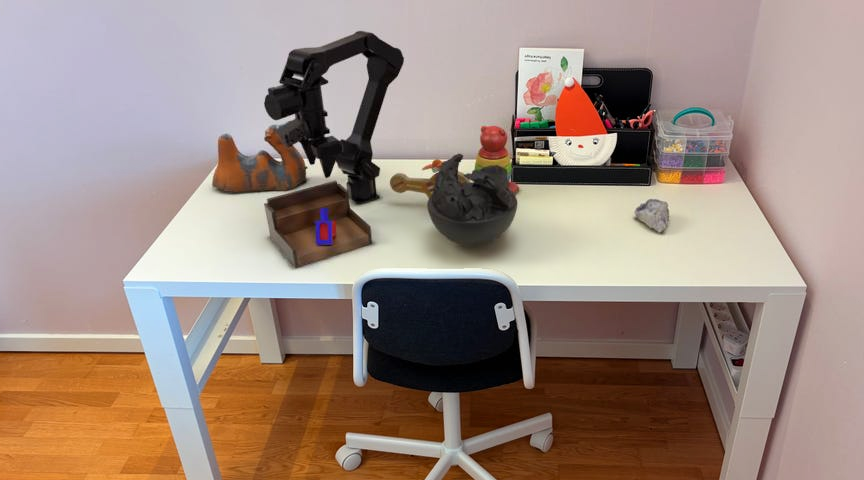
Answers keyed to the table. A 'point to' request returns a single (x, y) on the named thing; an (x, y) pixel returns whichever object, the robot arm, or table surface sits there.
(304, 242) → the shelf
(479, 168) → the stacking bear
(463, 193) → the coal bowl
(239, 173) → the camel toy
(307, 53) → the robot arm
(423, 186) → the toy helicopter
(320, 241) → the toy building block
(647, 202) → the mineral specimen
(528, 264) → the table surface
